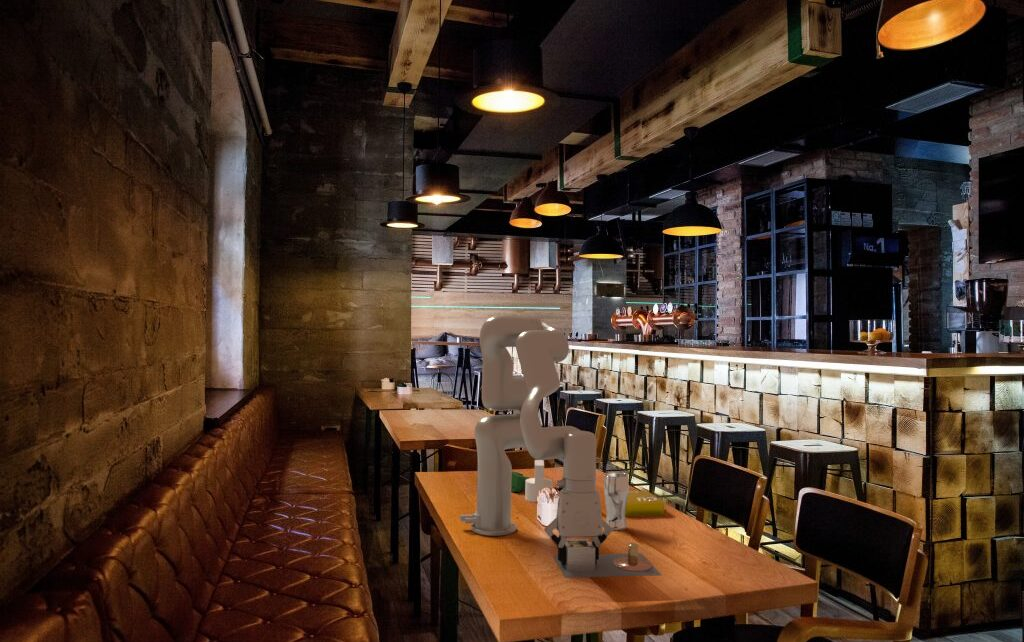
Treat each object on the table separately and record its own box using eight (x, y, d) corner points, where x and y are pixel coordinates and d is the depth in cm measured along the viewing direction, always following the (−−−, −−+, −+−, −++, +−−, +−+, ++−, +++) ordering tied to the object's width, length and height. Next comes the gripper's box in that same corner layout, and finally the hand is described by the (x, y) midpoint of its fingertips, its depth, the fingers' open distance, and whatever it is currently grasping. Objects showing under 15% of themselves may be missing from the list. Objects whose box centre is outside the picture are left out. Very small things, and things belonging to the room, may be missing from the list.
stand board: (564, 584, 141) (565, 556, 141) (553, 561, 154) (553, 536, 155) (661, 581, 143) (662, 554, 143) (641, 559, 157) (641, 534, 157)
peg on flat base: (619, 571, 145) (619, 551, 145) (608, 557, 154) (608, 538, 154) (657, 570, 146) (658, 550, 146) (645, 556, 155) (645, 538, 155)
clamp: (524, 503, 223) (535, 482, 221) (509, 501, 220) (519, 479, 218) (514, 483, 233) (523, 462, 231) (499, 480, 231) (509, 459, 229)
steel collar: (567, 571, 145) (567, 548, 145) (561, 560, 151) (562, 539, 151) (594, 570, 145) (595, 548, 145) (588, 560, 152) (588, 539, 152)
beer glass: (627, 531, 179) (628, 477, 179) (602, 529, 180) (603, 476, 181) (628, 524, 186) (629, 472, 186) (604, 522, 187) (604, 471, 187)
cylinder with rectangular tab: (525, 495, 217) (525, 459, 218) (551, 495, 217) (552, 460, 217) (525, 502, 208) (525, 465, 209) (552, 502, 208) (553, 465, 208)
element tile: (647, 503, 211) (648, 489, 211) (666, 516, 196) (666, 501, 196) (603, 505, 208) (604, 490, 208) (619, 518, 193) (619, 502, 194)
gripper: (545, 489, 144) (543, 570, 143) (620, 488, 146) (619, 568, 145) (539, 481, 151) (538, 558, 151) (611, 481, 153) (610, 556, 153)
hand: (578, 562), depth 148 cm, fingers open, 6 cm apart
